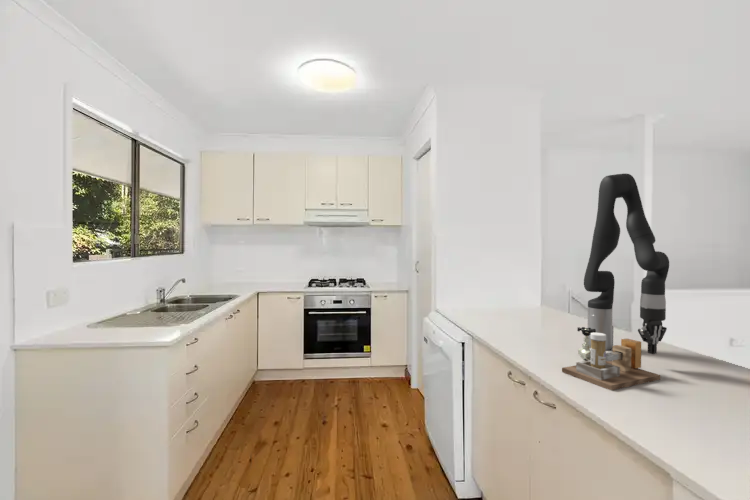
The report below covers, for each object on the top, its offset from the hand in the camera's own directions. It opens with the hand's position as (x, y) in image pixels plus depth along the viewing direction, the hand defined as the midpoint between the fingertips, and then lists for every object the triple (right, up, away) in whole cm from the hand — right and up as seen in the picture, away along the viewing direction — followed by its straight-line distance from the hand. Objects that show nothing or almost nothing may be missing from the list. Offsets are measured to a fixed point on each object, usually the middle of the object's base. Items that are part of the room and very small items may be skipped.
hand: (652, 353), depth 138 cm
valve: (-19, -5, +9) cm, 22 cm away
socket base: (-21, -5, -9) cm, 23 cm away
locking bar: (-16, -3, -7) cm, 18 cm away
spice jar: (-26, -4, -11) cm, 29 cm away
